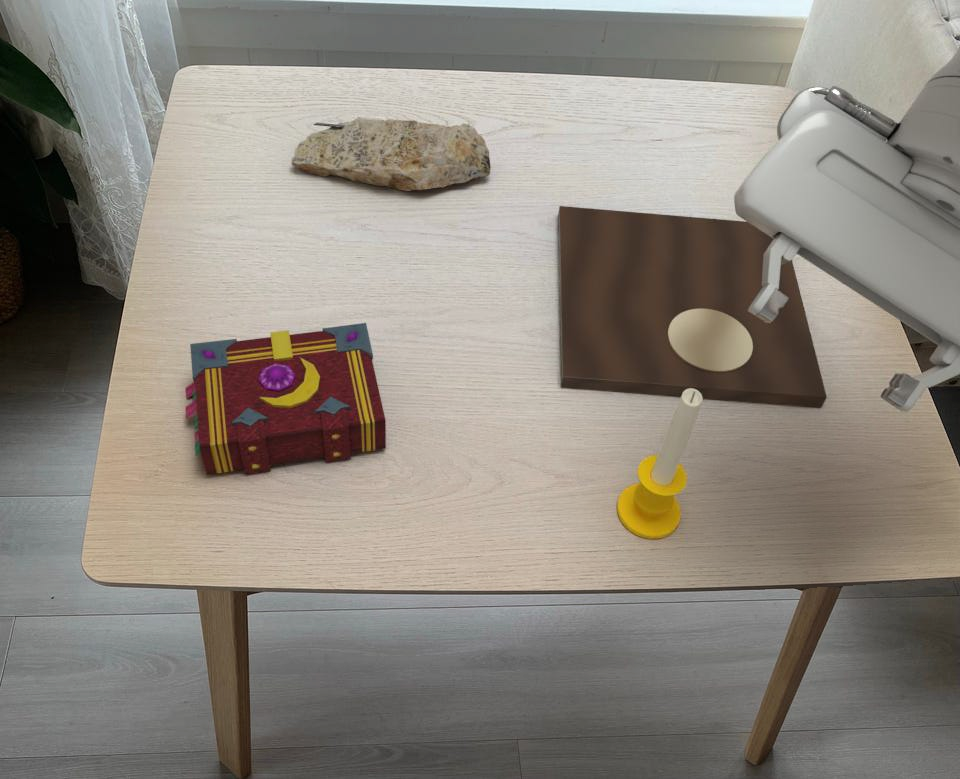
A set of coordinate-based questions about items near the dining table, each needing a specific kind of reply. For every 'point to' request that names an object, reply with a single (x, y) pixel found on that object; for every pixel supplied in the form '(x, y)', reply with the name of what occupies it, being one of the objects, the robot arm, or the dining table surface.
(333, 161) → the stone
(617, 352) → the board
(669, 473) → the candle
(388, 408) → the dining table surface
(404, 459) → the dining table surface
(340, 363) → the decorative book
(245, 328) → the dining table surface
